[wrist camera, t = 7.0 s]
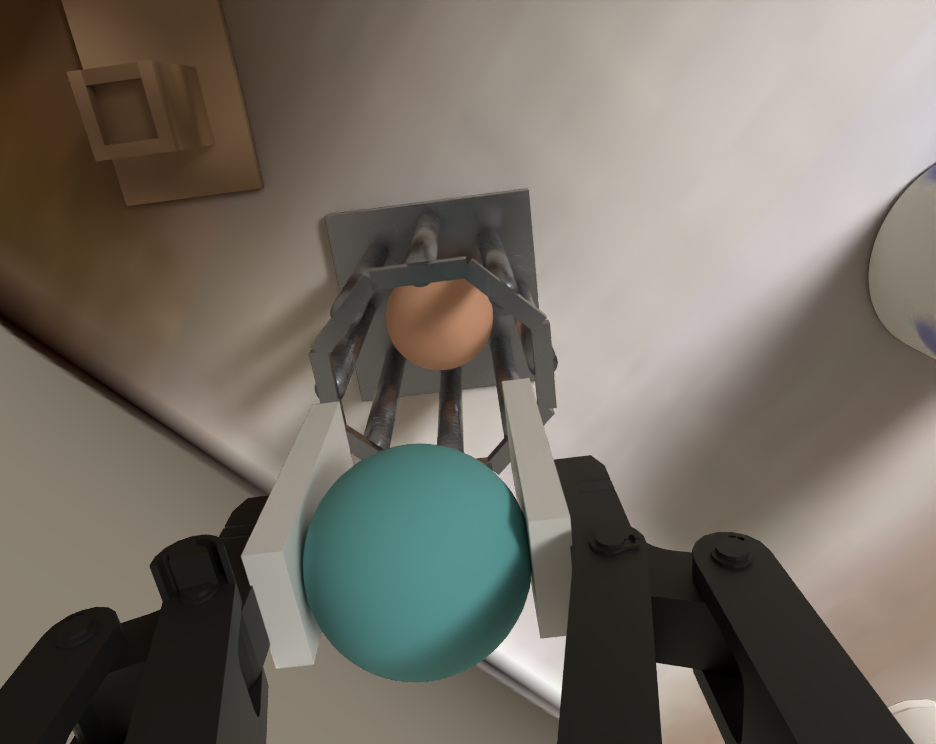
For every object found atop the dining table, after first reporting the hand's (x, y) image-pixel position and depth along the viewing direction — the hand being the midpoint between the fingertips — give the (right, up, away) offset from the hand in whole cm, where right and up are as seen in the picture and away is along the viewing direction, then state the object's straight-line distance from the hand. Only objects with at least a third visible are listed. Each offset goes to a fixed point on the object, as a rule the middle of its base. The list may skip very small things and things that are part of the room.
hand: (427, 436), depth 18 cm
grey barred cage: (0, +5, +13) cm, 14 cm away
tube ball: (0, +4, +10) cm, 11 cm away
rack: (-12, +17, +8) cm, 22 cm away
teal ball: (0, -2, -5) cm, 5 cm away
